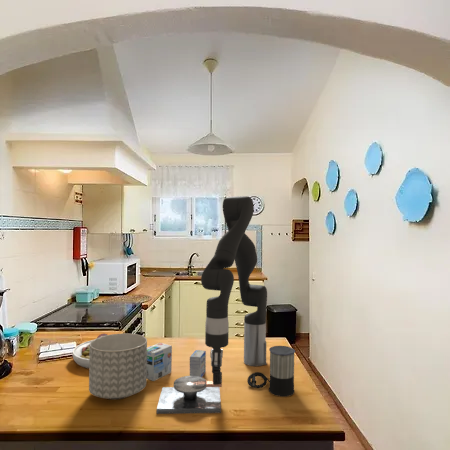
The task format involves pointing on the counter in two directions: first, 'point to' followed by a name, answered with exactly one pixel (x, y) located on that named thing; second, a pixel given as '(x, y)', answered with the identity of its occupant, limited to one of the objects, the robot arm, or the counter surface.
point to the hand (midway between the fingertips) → (216, 383)
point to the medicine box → (198, 363)
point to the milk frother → (278, 372)
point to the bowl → (83, 353)
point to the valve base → (189, 401)
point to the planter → (117, 365)
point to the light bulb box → (159, 361)
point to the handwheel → (193, 384)
